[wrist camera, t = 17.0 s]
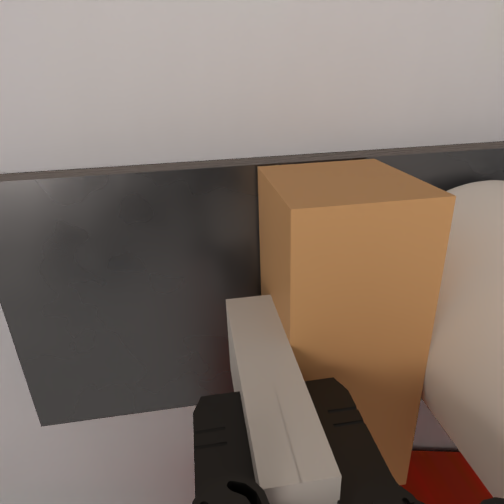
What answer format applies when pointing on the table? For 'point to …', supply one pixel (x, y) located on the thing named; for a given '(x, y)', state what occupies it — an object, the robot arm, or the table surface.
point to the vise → (151, 272)
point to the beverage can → (472, 333)
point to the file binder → (444, 479)
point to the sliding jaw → (357, 283)
